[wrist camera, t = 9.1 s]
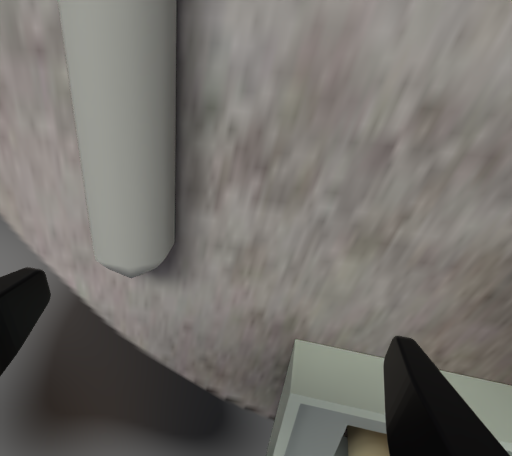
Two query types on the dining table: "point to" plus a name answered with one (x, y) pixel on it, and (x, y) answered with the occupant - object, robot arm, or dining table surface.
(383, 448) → the peg
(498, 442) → the robot arm
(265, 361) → the dining table surface
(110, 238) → the tube
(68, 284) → the dining table surface
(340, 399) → the caddy
